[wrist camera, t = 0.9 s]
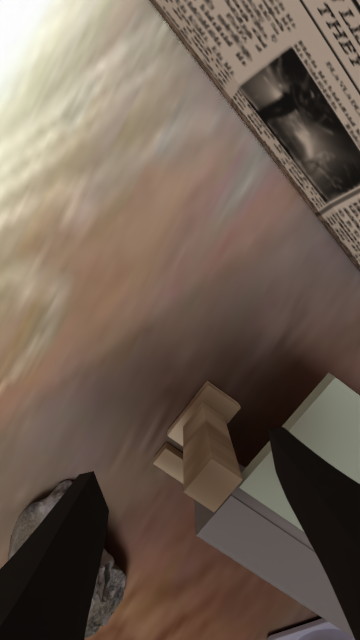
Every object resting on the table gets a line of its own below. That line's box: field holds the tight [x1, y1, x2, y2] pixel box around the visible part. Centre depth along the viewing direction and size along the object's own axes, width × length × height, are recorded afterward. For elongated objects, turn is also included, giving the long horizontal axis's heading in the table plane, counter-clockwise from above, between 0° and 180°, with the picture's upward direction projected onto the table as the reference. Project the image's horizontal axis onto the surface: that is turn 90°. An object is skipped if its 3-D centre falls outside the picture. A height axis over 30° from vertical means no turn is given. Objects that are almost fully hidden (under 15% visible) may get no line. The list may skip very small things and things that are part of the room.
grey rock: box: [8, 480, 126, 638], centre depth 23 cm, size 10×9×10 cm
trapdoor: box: [194, 373, 360, 639], centre depth 18 cm, size 12×14×4 cm
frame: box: [153, 381, 243, 512], centre depth 19 cm, size 8×19×7 cm, turn 53°
